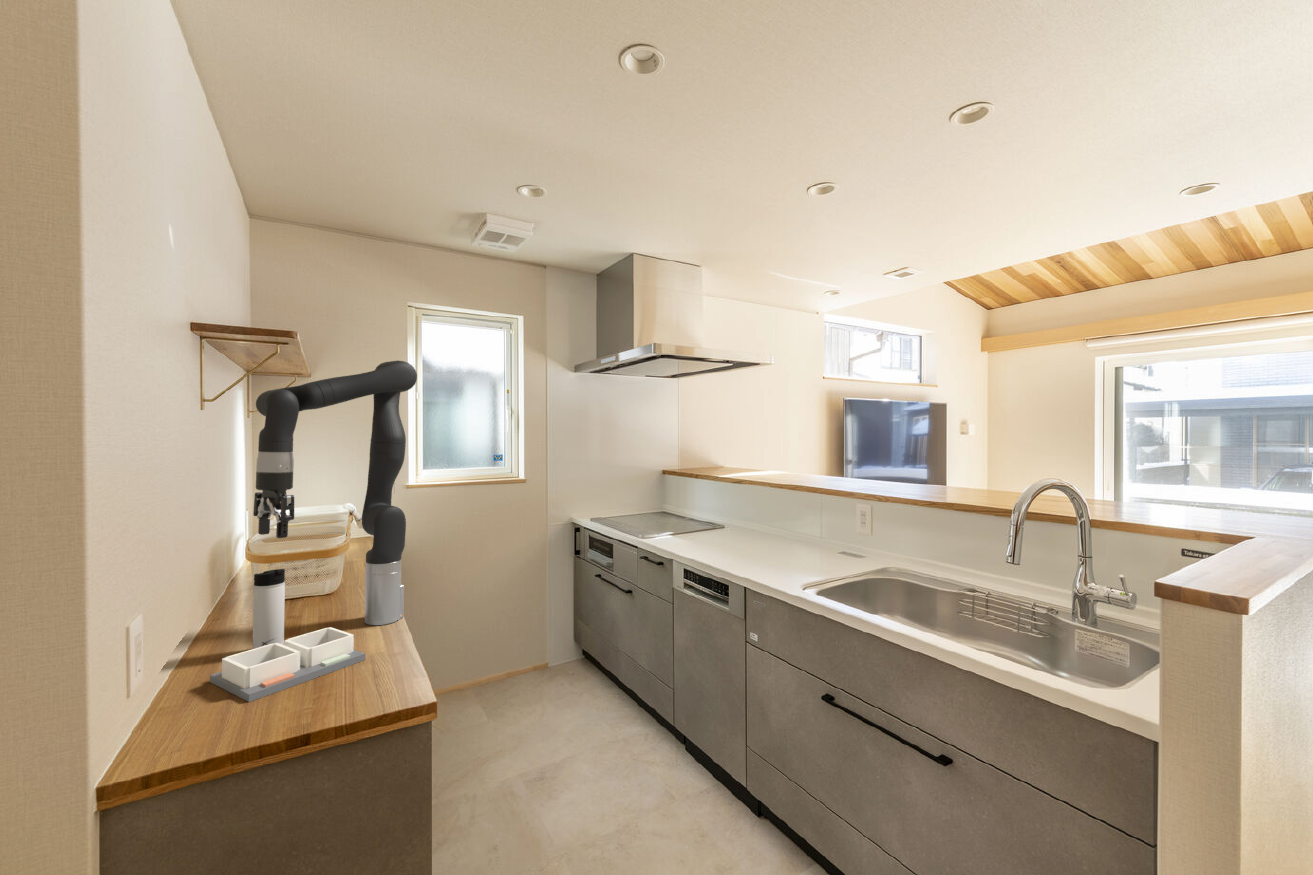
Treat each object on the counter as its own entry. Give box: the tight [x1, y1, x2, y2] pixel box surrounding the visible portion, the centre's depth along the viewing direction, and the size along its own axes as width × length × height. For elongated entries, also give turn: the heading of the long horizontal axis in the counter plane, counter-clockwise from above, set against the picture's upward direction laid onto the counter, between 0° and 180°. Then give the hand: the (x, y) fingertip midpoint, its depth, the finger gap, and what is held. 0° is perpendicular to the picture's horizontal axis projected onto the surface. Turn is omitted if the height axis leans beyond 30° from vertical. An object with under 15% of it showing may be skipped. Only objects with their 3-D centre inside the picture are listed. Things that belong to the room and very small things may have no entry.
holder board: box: [209, 626, 366, 703], centre depth 122 cm, size 24×17×6 cm
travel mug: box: [252, 568, 286, 649], centre depth 132 cm, size 6×7×20 cm
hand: (272, 535), depth 133 cm, fingers open, 8 cm apart
